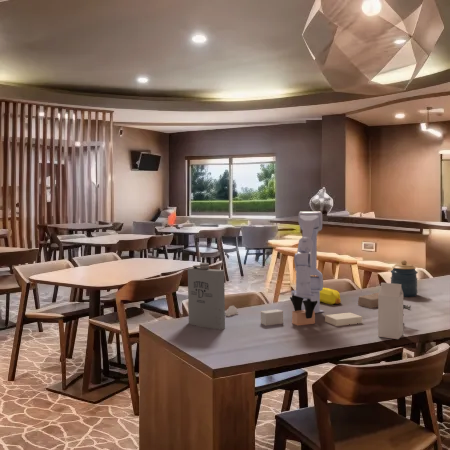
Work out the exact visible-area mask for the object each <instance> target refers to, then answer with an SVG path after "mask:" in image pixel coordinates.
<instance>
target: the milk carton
mask: <svg viewBox="0 0 450 450" xmlns="http://www.w3.org/2000/svg"><path fill="white" fill-rule="evenodd" d="M378 293H379V294H378V307H377V309H378V310H377V315H378V316H377V324H378V325H377V335H378V336H377V337H380V338H388V339H395V340H400V338H402V336H403V335H404V324H403V323H404V316H403V314H404V309H403V305H404V297H403V291H402V288H401V284H392V283H391V282H388V283H387V282H381V283H380V288H379V291H378Z"/></svg>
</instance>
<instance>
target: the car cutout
mask: <svg viewBox="0 0 450 450" xmlns="http://www.w3.org/2000/svg"><path fill="white" fill-rule="evenodd" d="M225 311H226V312H225V317H231V316H234V315H236V316H237V315H239V311H238V308H237V307H235V305H229V306H228V308H227V309H225Z"/></svg>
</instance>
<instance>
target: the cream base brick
mask: <svg viewBox="0 0 450 450" xmlns="http://www.w3.org/2000/svg"><path fill="white" fill-rule="evenodd" d="M324 322H325V323H328V324H330V325H332V326H334V327H340V326H347V325H349V324H350V325H357V323H358V324H363V316H361V315H358V314H356V313H353V312H344V313H343V312H342V313H341V312H340V313H334V314H333V313H331V314H324Z"/></svg>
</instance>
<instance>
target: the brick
mask: <svg viewBox="0 0 450 450" xmlns="http://www.w3.org/2000/svg"><path fill="white" fill-rule="evenodd" d="M378 294H379V292H375V293H372V294H365V295H361V296H358V300H357V305H358V306H361V307H364V308H368V309H373V308H378Z"/></svg>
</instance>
